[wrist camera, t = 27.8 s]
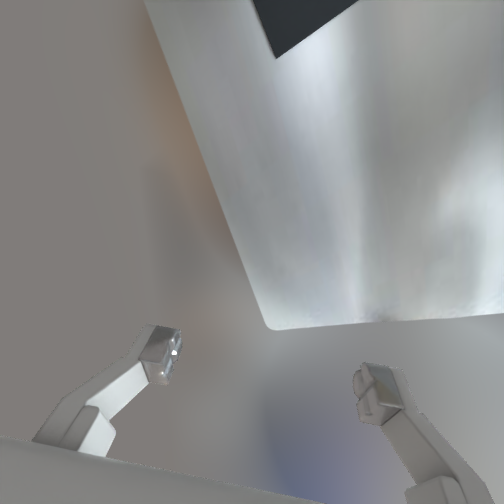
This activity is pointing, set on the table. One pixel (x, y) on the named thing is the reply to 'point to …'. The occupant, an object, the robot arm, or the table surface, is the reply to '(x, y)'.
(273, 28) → the mat
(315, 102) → the table surface
